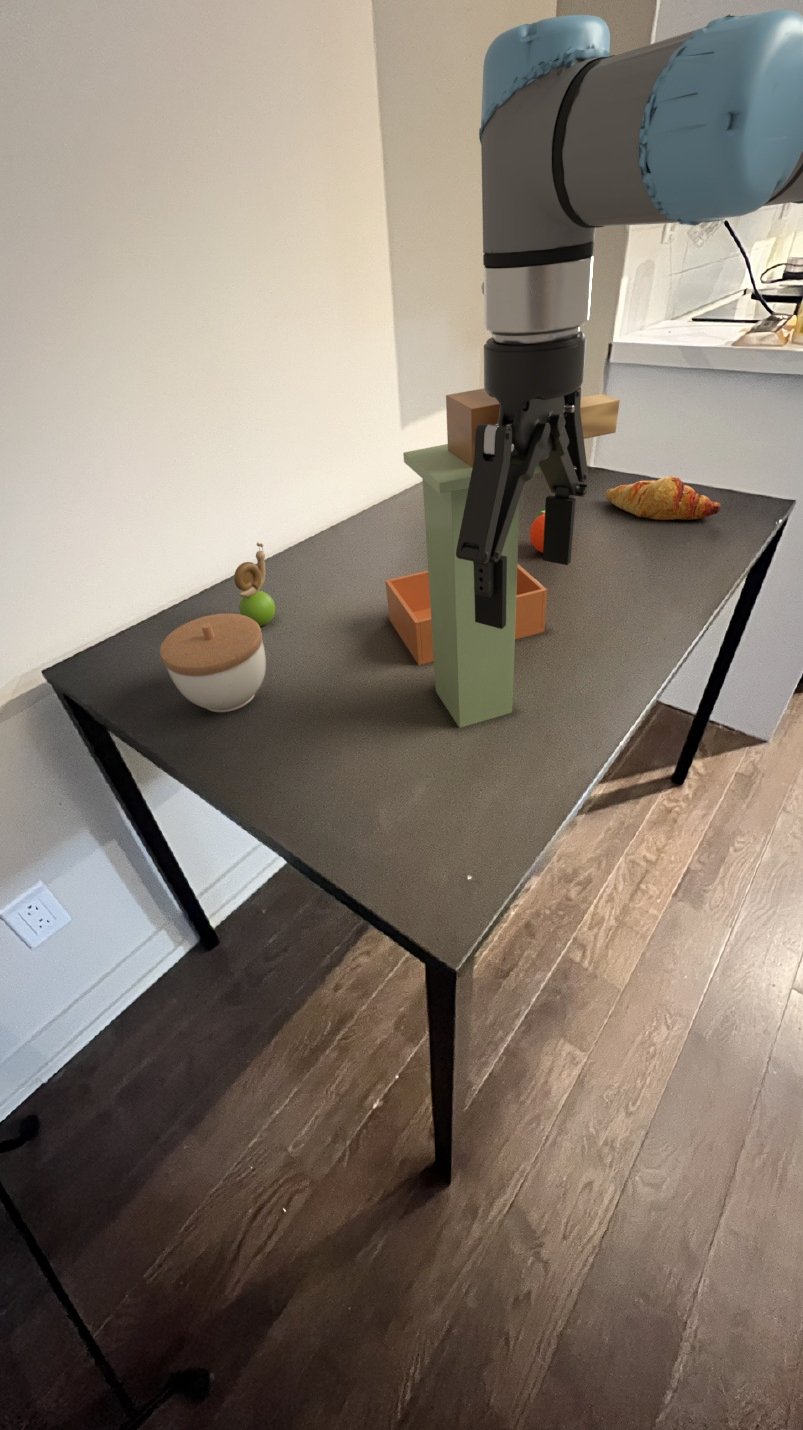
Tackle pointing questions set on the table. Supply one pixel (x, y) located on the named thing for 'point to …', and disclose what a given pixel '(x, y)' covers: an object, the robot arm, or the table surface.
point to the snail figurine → (254, 590)
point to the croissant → (662, 500)
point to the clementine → (538, 532)
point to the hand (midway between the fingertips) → (525, 590)
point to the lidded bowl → (216, 660)
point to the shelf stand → (463, 597)
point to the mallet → (484, 409)
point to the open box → (414, 610)
